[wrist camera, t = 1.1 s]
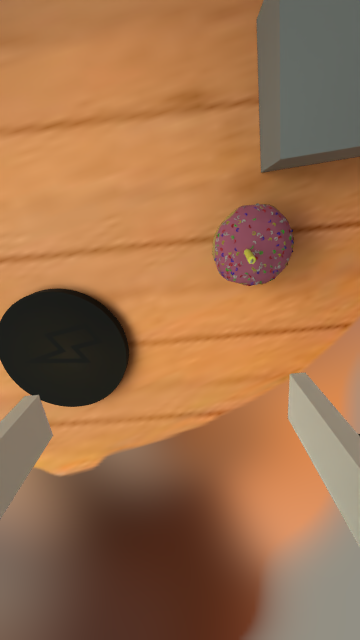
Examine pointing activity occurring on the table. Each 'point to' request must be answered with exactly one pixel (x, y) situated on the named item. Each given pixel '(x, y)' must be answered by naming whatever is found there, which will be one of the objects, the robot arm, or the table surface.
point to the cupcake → (253, 244)
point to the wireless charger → (63, 347)
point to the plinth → (308, 82)
